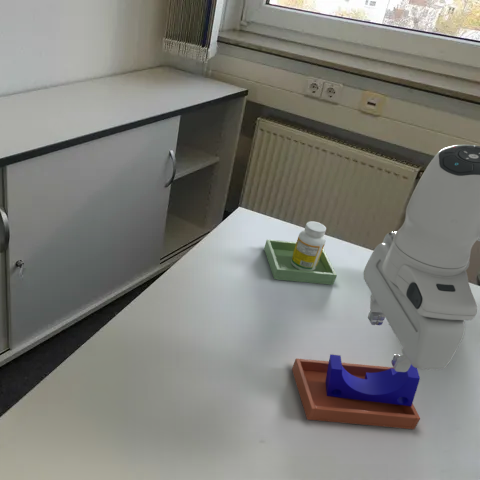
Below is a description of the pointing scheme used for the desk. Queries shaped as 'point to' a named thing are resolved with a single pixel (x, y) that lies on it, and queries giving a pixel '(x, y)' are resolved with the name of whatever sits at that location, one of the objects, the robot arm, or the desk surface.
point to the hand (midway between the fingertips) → (385, 343)
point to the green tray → (284, 270)
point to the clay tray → (342, 409)
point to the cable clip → (372, 384)
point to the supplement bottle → (309, 246)
